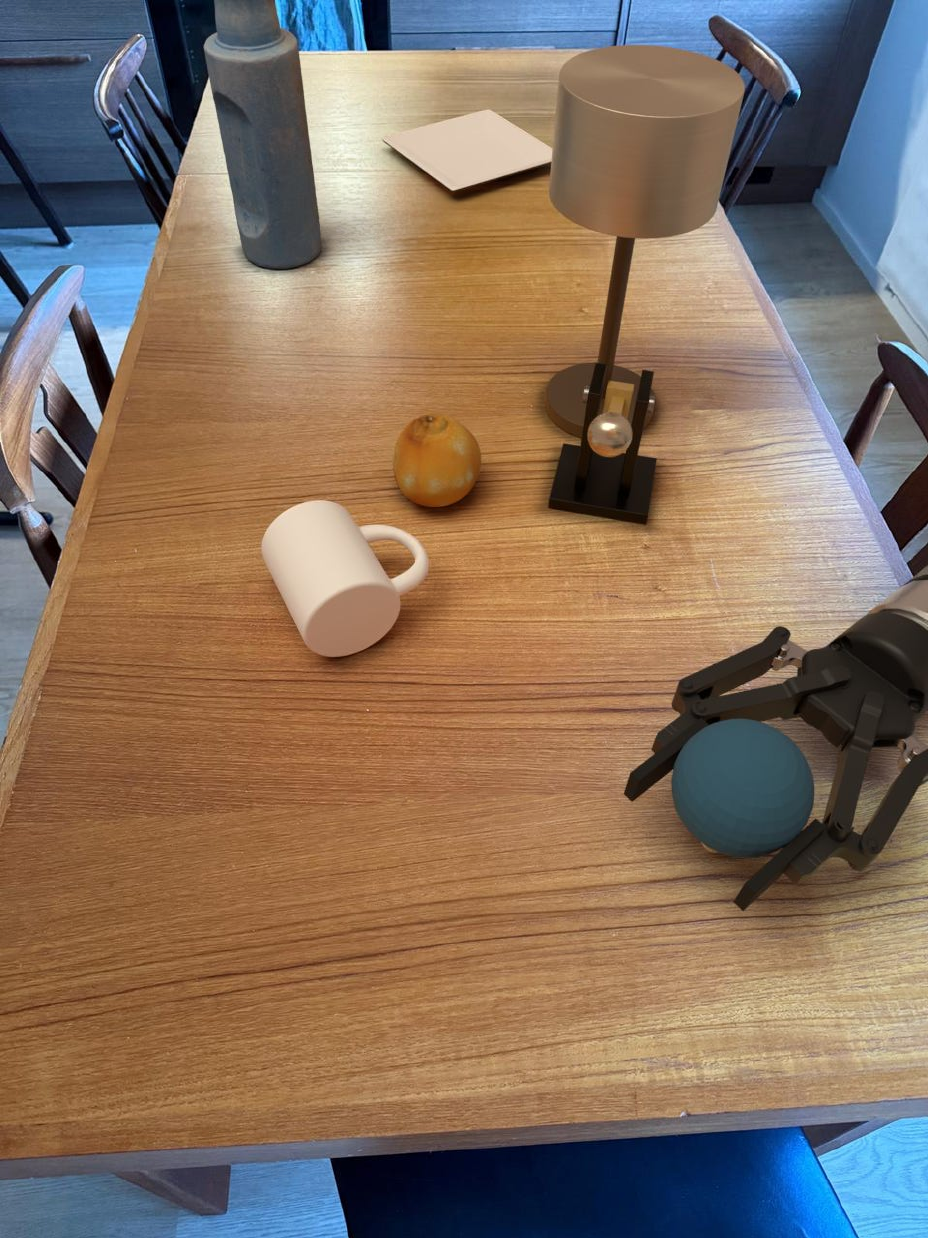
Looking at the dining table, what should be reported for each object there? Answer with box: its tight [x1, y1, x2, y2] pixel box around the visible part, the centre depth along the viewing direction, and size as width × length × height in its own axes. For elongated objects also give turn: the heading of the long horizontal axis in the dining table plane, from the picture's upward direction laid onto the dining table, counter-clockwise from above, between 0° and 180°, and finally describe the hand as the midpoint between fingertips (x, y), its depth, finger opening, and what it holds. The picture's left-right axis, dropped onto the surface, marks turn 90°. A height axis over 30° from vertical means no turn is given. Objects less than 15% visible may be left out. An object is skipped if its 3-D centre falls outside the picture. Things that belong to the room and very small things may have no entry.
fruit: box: [392, 413, 482, 508], centre depth 81 cm, size 8×8×8 cm
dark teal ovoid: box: [670, 719, 815, 859], centre depth 56 cm, size 8×8×12 cm
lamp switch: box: [587, 381, 634, 457], centre depth 70 cm, size 16×3×3 cm, turn 167°
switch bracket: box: [547, 362, 658, 526], centre depth 79 cm, size 8×9×12 cm
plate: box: [381, 108, 553, 193], centre depth 126 cm, size 19×19×2 cm
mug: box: [260, 499, 430, 658], centre depth 71 cm, size 12×10×8 cm
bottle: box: [203, 0, 323, 270], centre depth 98 cm, size 10×10×30 cm
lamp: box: [544, 44, 746, 439], centre depth 80 cm, size 14×14×30 cm
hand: (685, 840), depth 54 cm, fingers closed on dark teal ovoid, 8 cm apart
